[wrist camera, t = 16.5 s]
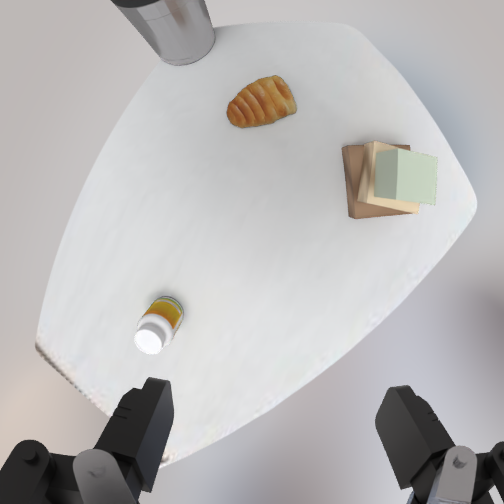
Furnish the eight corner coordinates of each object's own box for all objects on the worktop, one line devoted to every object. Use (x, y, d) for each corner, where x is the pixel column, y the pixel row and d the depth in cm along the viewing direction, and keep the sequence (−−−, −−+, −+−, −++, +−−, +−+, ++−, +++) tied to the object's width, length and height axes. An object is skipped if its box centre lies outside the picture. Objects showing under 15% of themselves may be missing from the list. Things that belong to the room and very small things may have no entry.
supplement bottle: (151, 294, 42) (127, 321, 33) (183, 298, 42) (165, 327, 33) (153, 323, 44) (131, 355, 34) (184, 328, 44) (168, 362, 34)
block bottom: (340, 148, 37) (347, 145, 34) (398, 147, 37) (409, 145, 34) (347, 216, 40) (355, 219, 36) (404, 210, 39) (415, 213, 36)
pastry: (240, 141, 37) (239, 136, 33) (218, 102, 36) (214, 94, 32) (299, 112, 36) (303, 105, 32) (276, 75, 35) (277, 64, 31)
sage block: (375, 153, 31) (398, 148, 25) (411, 159, 31) (437, 157, 25) (373, 196, 32) (395, 199, 26) (409, 201, 32) (435, 205, 26)
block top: (364, 144, 34) (374, 140, 30) (412, 158, 34) (425, 156, 31) (357, 201, 36) (366, 202, 32) (405, 211, 36) (417, 214, 32)
